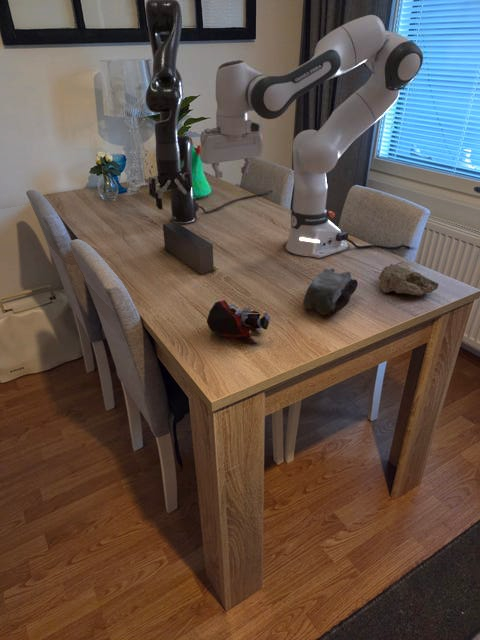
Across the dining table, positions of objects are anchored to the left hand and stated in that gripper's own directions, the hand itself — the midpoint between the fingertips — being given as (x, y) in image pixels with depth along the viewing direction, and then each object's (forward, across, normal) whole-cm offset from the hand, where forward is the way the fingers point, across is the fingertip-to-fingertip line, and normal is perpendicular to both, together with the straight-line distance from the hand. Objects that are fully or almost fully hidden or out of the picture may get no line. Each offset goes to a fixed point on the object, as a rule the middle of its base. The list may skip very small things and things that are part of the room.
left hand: (171, 206), depth 150 cm
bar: (+16, 0, -9) cm, 18 cm away
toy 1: (+15, +38, +57) cm, 70 cm away
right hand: (-13, +11, -20) cm, 27 cm away
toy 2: (+16, -13, -58) cm, 62 cm away
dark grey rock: (+16, +19, -59) cm, 64 cm away
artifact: (+16, +44, -64) cm, 79 cm away
